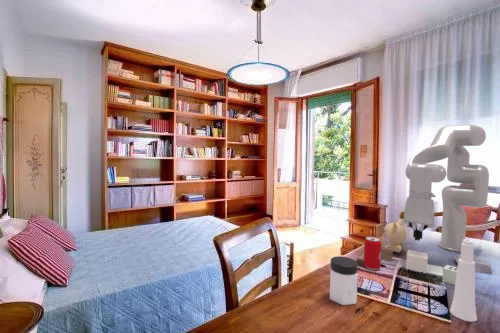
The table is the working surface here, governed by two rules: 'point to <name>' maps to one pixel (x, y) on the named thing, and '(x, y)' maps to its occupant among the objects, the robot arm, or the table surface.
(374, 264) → the beverage can
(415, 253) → the cream block
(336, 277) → the jar
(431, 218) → the robot arm
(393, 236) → the kitten
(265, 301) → the table surface
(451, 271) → the sage cube
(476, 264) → the stone block
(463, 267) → the cosmetic bottle
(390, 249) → the walnut cube
